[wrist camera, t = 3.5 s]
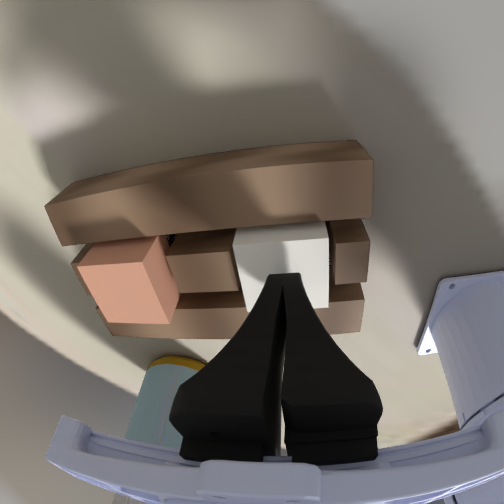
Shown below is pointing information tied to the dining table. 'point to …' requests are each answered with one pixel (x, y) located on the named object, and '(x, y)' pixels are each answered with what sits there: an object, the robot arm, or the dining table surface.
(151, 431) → the bottle
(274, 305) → the robot arm
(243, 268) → the cream key
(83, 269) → the terracotta key
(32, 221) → the dining table surface
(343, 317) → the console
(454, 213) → the dining table surface
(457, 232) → the dining table surface
